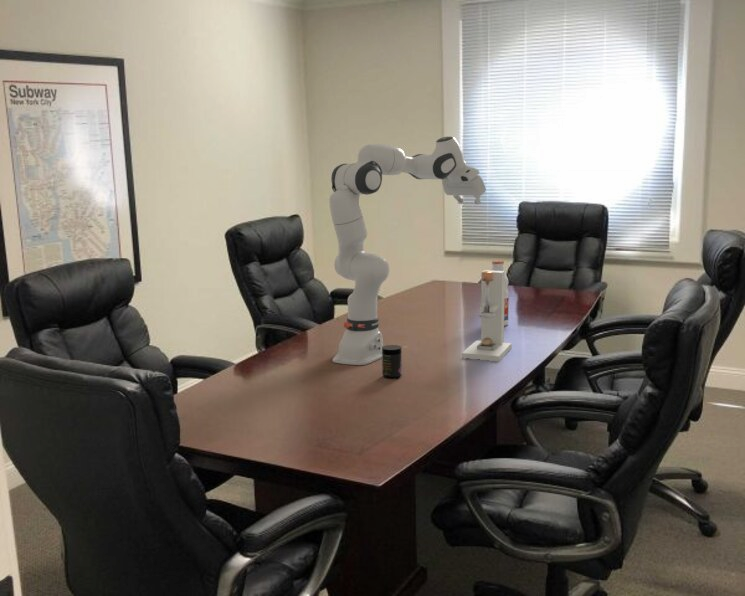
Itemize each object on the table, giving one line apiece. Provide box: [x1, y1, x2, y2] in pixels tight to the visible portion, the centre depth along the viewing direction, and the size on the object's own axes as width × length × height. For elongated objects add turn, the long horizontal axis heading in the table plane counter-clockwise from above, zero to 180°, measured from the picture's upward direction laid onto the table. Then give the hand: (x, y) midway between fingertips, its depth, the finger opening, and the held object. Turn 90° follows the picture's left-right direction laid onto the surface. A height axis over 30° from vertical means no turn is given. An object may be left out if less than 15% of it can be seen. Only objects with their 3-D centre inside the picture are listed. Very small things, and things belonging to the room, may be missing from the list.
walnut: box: [482, 338, 493, 347], centre depth 302 cm, size 4×4×4 cm
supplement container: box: [381, 344, 403, 380], centre depth 274 cm, size 7×7×10 cm
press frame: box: [461, 269, 513, 362], centre depth 300 cm, size 20×14×30 cm
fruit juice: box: [491, 259, 510, 327], centre depth 346 cm, size 9×9×28 cm
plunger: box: [478, 270, 496, 318], centre depth 298 cm, size 6×6×17 cm
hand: (469, 203), depth 327 cm, fingers open, 8 cm apart
